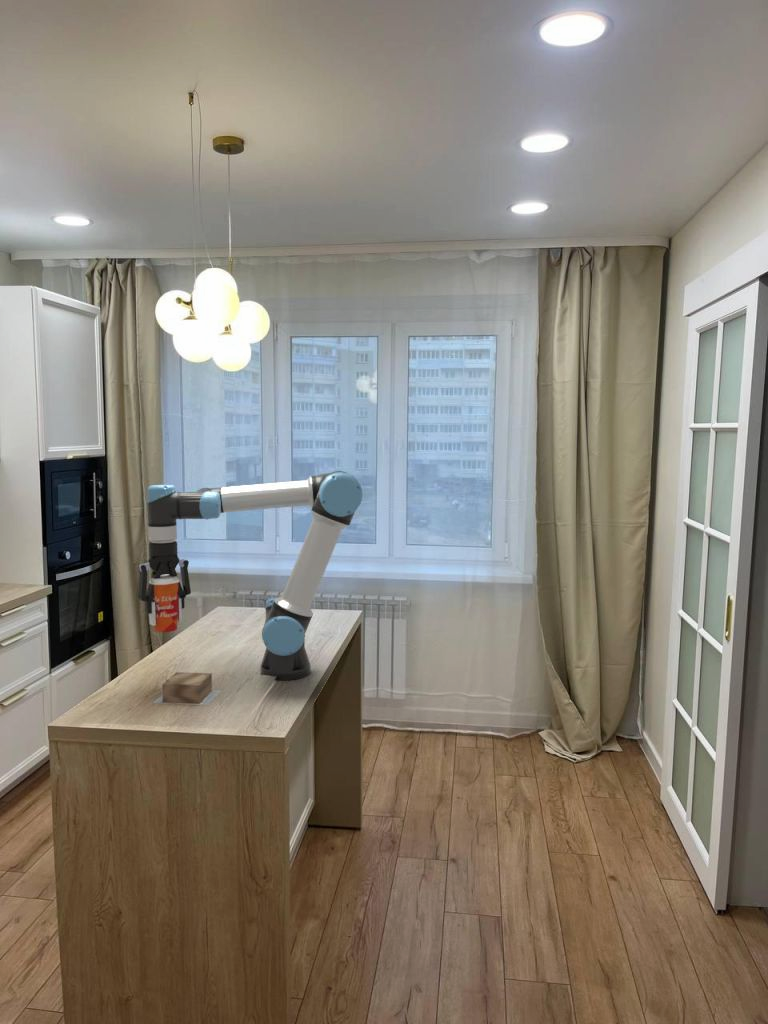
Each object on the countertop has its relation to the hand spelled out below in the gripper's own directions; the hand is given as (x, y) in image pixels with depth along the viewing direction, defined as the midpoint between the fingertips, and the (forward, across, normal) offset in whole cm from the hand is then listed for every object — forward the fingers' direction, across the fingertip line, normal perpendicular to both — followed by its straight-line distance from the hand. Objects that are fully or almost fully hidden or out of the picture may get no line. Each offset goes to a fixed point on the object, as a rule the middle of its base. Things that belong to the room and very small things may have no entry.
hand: (165, 622), depth 203 cm
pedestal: (+19, -1, +11) cm, 22 cm away
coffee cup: (+2, 0, 0) cm, 2 cm away
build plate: (+20, -1, +11) cm, 23 cm away
